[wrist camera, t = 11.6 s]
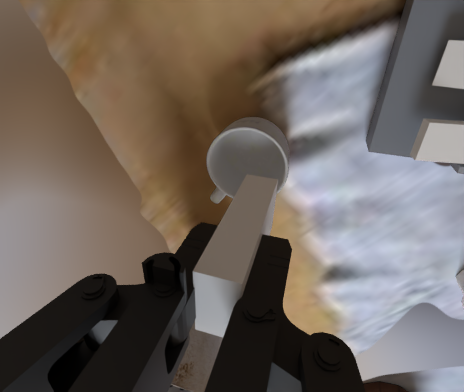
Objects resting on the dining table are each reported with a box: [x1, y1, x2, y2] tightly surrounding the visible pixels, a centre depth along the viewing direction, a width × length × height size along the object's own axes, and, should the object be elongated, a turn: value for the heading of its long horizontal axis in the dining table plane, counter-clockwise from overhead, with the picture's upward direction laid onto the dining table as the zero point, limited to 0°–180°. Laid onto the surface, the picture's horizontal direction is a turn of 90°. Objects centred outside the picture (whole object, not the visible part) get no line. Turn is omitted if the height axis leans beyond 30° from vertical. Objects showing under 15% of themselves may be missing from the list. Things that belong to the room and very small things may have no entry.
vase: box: [168, 321, 223, 392], centre depth 46 cm, size 13×14×28 cm
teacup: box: [206, 117, 289, 204], centre depth 42 cm, size 14×11×8 cm
